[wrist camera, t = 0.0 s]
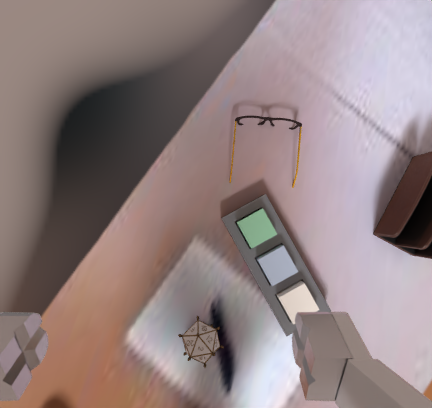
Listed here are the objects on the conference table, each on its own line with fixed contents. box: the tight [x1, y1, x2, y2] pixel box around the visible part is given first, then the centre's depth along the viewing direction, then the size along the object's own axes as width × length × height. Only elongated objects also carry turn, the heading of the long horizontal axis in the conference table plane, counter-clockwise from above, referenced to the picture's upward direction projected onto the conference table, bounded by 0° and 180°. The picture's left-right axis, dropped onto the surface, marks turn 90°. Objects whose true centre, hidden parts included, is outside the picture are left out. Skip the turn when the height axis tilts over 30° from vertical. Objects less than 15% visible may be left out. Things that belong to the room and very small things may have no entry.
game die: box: [178, 316, 224, 368], centre depth 58 cm, size 9×8×10 cm
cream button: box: [276, 280, 319, 325], centre depth 59 cm, size 6×6×3 cm
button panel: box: [222, 194, 331, 336], centre depth 62 cm, size 28×11×3 cm, turn 29°
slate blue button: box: [256, 244, 298, 286], centre depth 60 cm, size 6×6×3 cm
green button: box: [236, 208, 277, 249], centre depth 60 cm, size 6×6×3 cm
